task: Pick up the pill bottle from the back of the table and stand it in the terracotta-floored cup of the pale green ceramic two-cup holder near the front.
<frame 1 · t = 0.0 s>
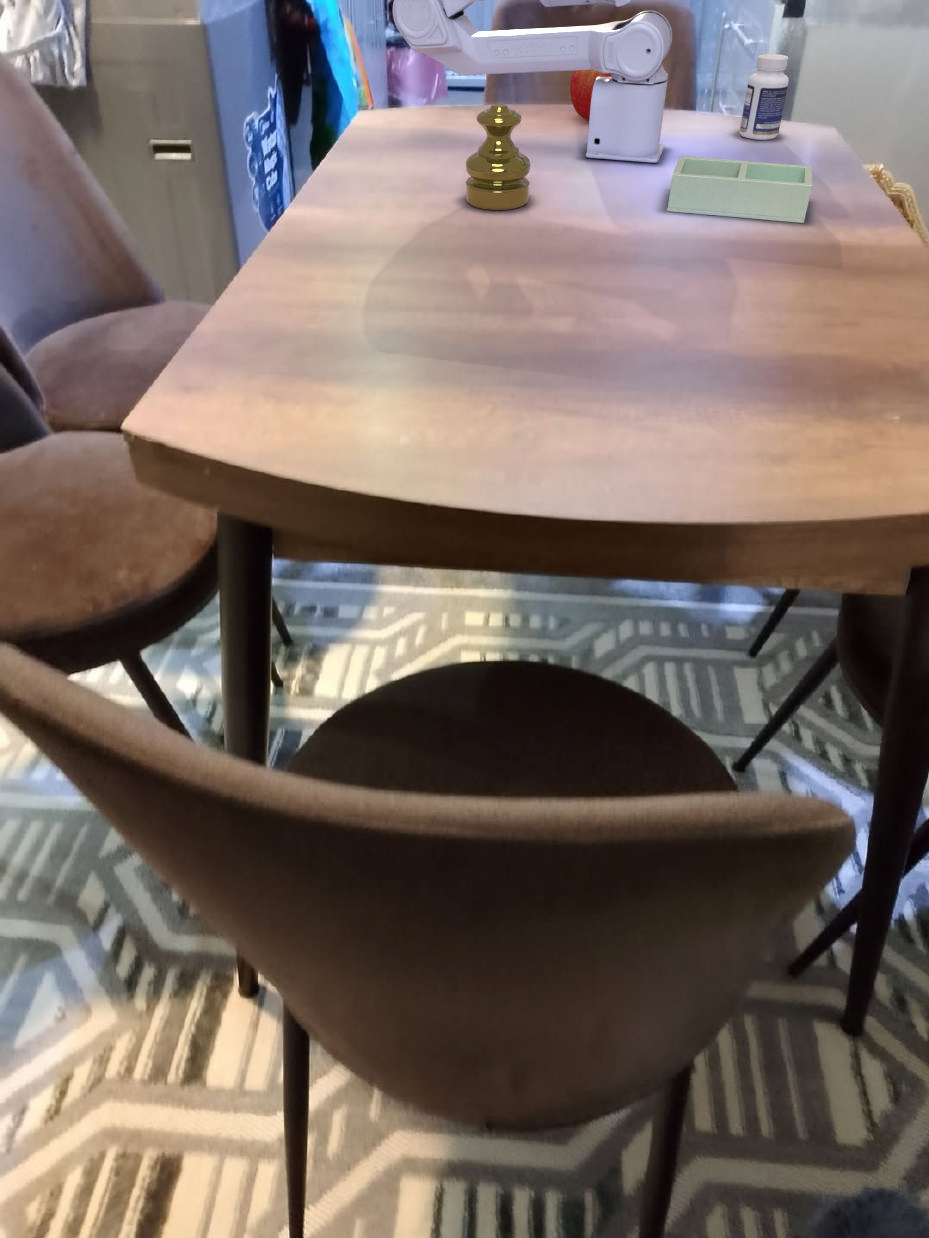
apple: (594, 121, 137), on the table
holder: (736, 206, 105), on the table
pill bottle: (758, 137, 129), on the table
salt shaker: (497, 203, 106), on the table
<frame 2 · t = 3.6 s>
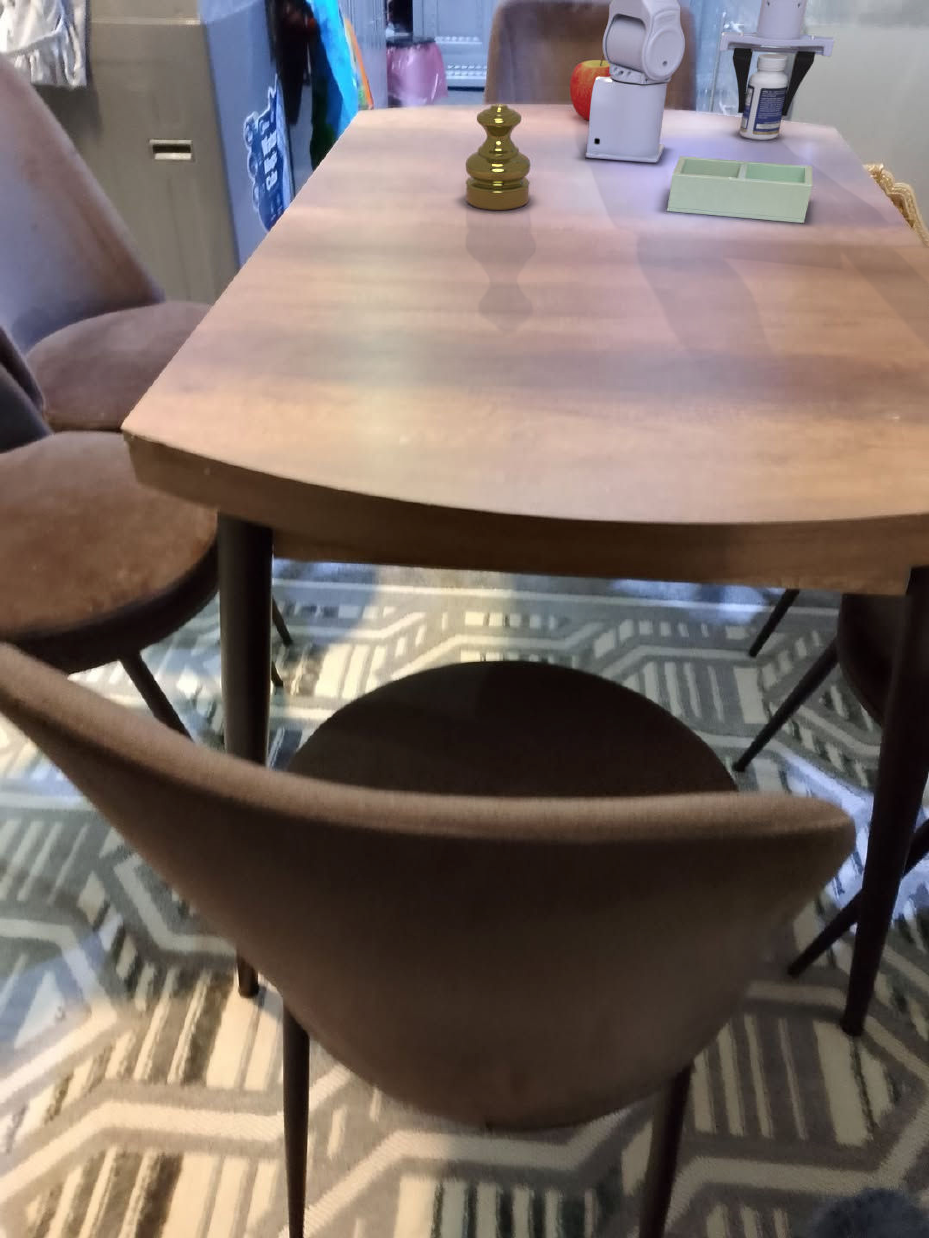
hand: (762, 113, 127), 3 cm above the table, tool pointing down, fingers closed on pill bottle, 5 cm apart
pill bottle: (758, 137, 129), on the table, touching gripper
everything else where it was.
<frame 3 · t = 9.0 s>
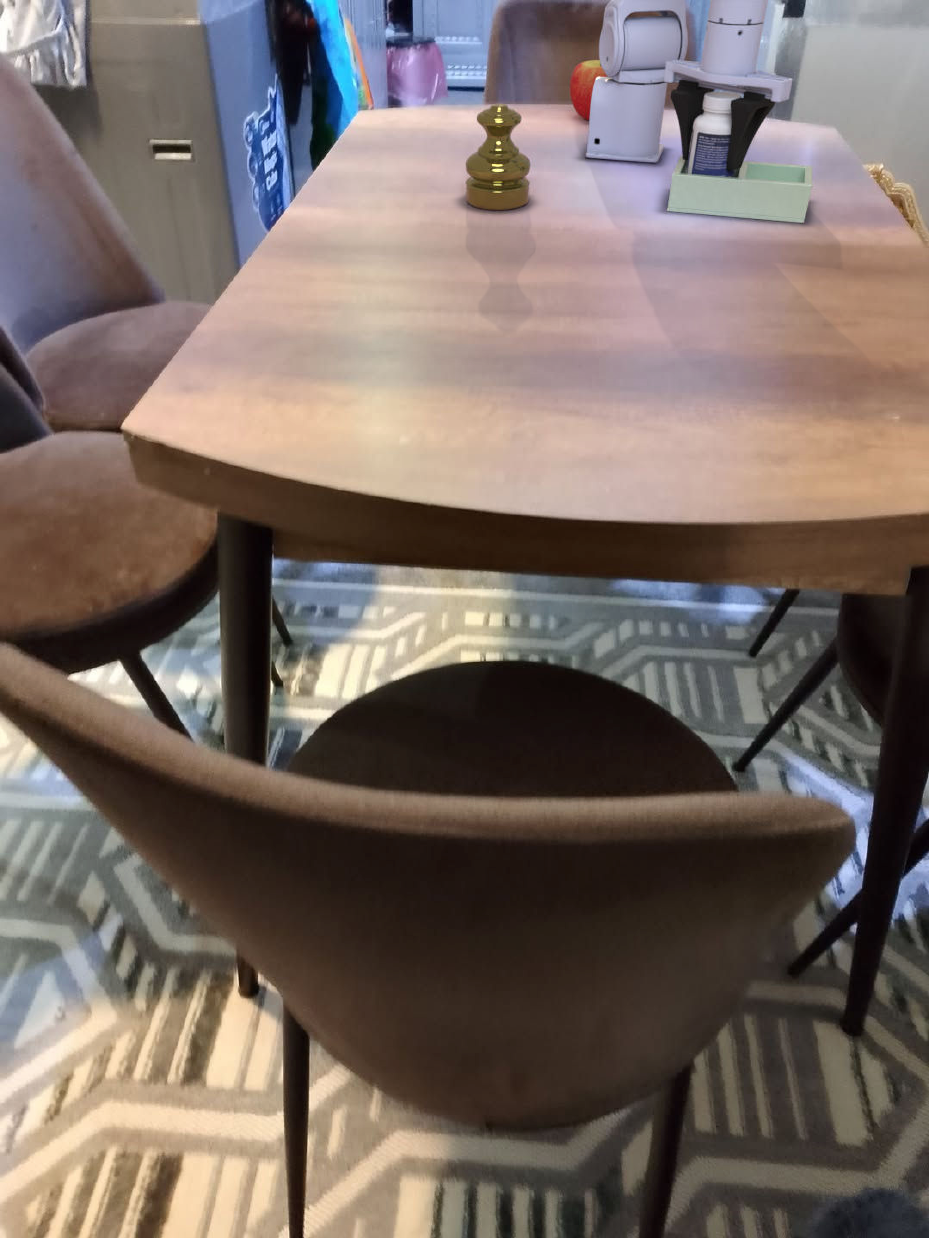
hand: (711, 163, 103), 4 cm above the table, tool pointing down, fingers closed on pill bottle, 5 cm apart
pill bottle: (707, 192, 105), point 1 cm above the table, touching gripper
everything else where it was.
when the fingers open (5 cm above the table, at t = 15.3 s): pill bottle drops 1 cm, resting on holder.
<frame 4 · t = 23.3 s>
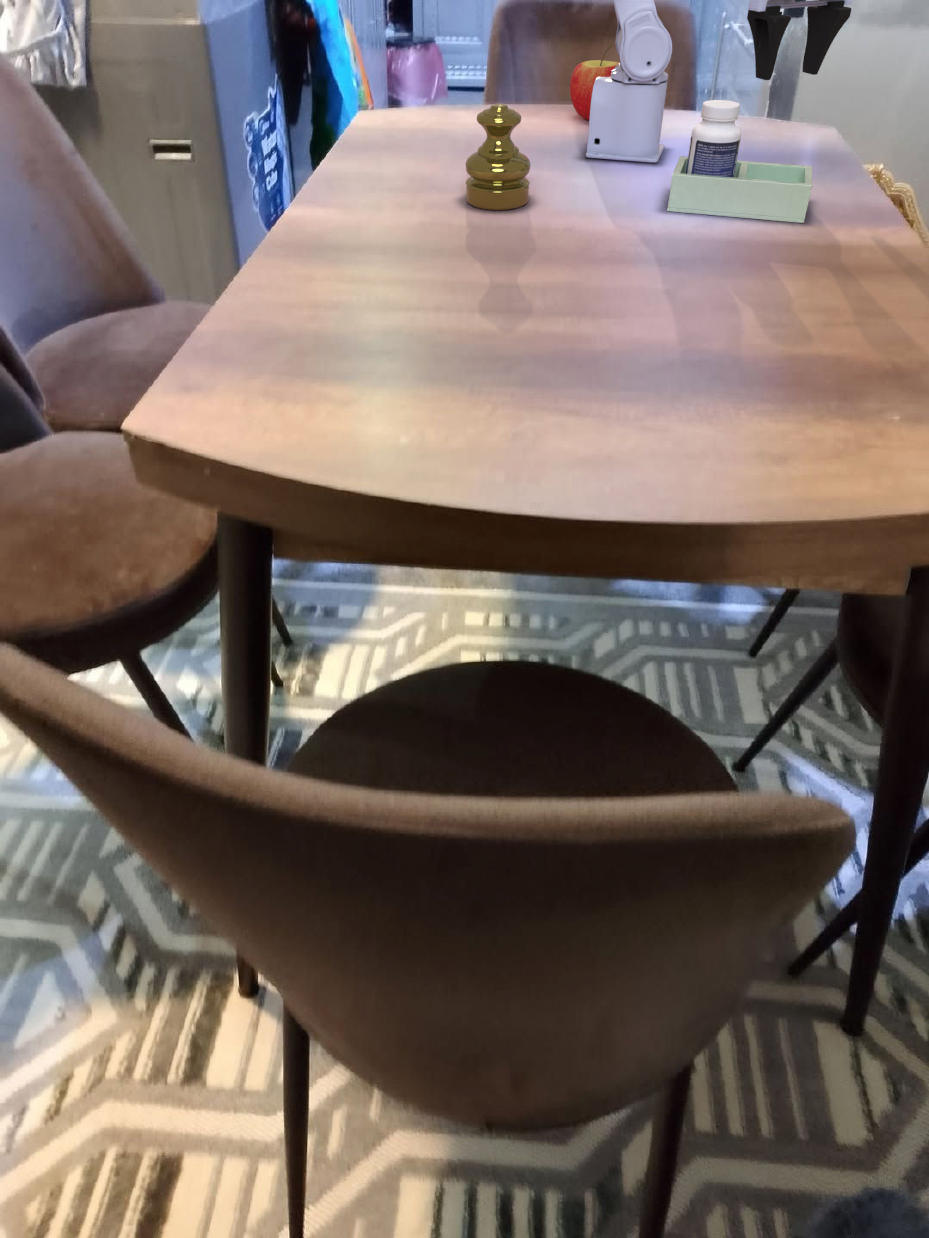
hand: (786, 76, 115), 9 cm above the table, tool pointing down, fingers open, 7 cm apart
pill bottle: (705, 200, 105), resting on holder
everything else where it was.
at the end: pill bottle 0.1 cm from the target spot in the holder, point 0.4 cm above the holder's base; pill bottle tilted 0°; the gripper is holding nothing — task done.
